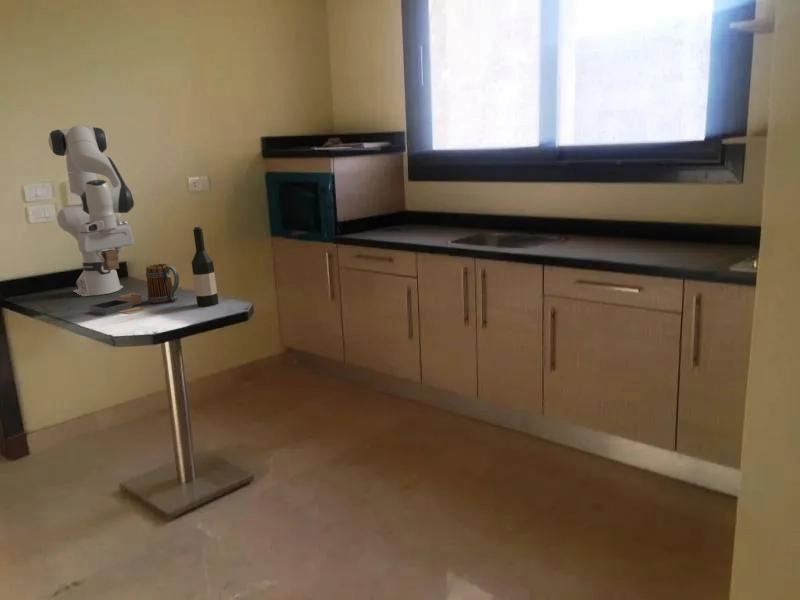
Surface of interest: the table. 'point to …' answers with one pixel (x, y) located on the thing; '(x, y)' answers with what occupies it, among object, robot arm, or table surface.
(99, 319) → the table surface
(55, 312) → the table surface
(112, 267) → the walnut block
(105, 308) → the tin
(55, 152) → the robot arm
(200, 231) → the wine bottle
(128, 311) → the light wooden board
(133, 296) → the terracotta pot
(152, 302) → the mug
